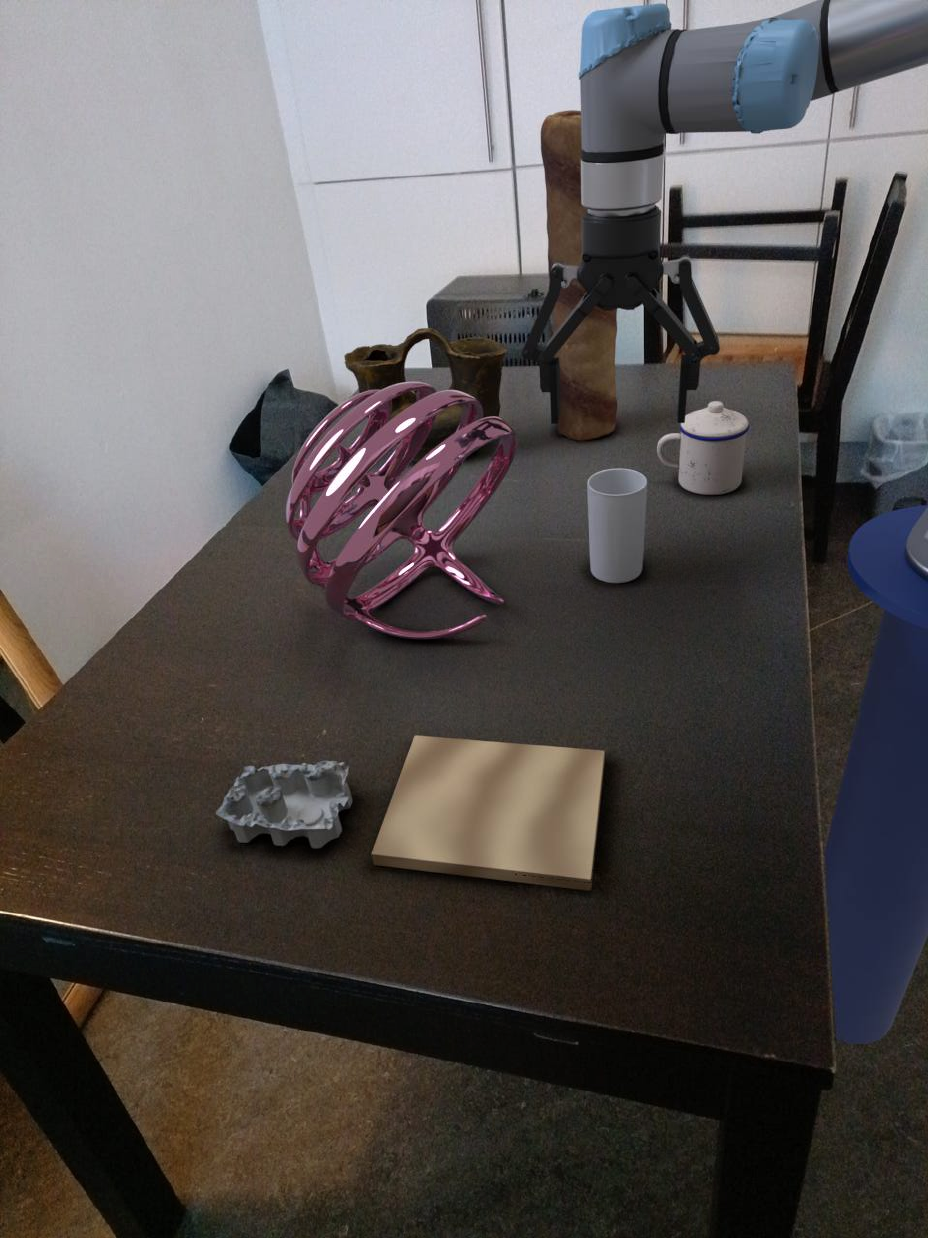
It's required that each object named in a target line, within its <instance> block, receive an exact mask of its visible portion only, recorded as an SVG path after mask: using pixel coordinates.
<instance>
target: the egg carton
mask: <svg viewBox="0 0 928 1238" xmlns="http://www.w3.org/2000/svg"><path fill="white" fill-rule="evenodd" d="M349 768H350V765H349V764H348V763H347V762H345V761H342V762H340V761H338V760H321V761H316V764H310V763H306V762H302V763H301V764H289V763H279V764H272V765H269V766H262V767H260V768H257V767H256V766H255V765H247V766H243V768H242V773H241V775H240V776H236V778H235V781H234V784H233V785H232V786H231V788H229V791H228V793H227V794H226V795H225V796H224V797H223V802H222V805H221V806H219V808H218V809H217V810H216V811H215V815H217V816H218V817H220V818H222V819H223V820H226V821H227V823H228V825H229V829H230V830H231V831H233V833H234V834H235V838H236V840H237V842H238V843H242V844H245V843H247V844H249V843H250V842H251V841H252V840H253V839H254V838H256V837H257V836H258V835H262V834H266V835H270V836H271V840H272V843H273V845H274V846H278V847H279V846H280V847H284V846H286V845H287V844H288V843H289V842H290V841H291V840H294V839H295V838H298V837H305V838H307V839H308V842H309V845H310V847H311V848H312V849H322V848H323V847H324V846H325V845H326V844H327V843H329V842H330V841H332V840H335V839H337V838H339V837H340V835H341V833H342V832H343V828H342V824H341V820H340V817H339V813H340V812H341V811H343V810H348V809H350V808H351V806H352V804H353V797H352V793H351V790H350V789H351V788H350V787H349V784H348V782H346V779H347V776H348V775H349Z"/></svg>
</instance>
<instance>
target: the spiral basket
mask: <svg viewBox="0 0 928 1238" xmlns="http://www.w3.org/2000/svg"><path fill="white" fill-rule="evenodd" d="M409 391H411V392H413V393H414V394H415V395H416V400H417V402H416V403H414V404H412V405H411V406H409V407H408V408H406V409H405V410H403V411H402V412H401V413H399V414H398V415H396V416H395V417H394V418H393V419H391V420H390V421H389V422H388V420H389V418H390V414H391V410H392V399H394V398H396V397H397V396H399V395H402V394H404V393H406V392H409ZM458 404H462V415H461V419H460V422H459V425H458V428H457V430H456V432H455V433H454V434H452V435H451V436H450V437H448V438H447V439H445V440H444V441H443V442H441V443H440V444H439V445H438V446H436V447H435V448H434V449H433V450H431V451H430V452H429V453H428V454H427V455H425V456H424V457H423V458H422V459H421V460H420V461H419V462H415V464H413V466H412V467H410V469H409V470H408V471H406V470H407V468H408V467H409V466H410V465H411V463H412V462H413V459H414V457H415V456H416V454H417V453H418V451H419V450H420V448H421V447H422V445H423V444H424V442H425V440H426V438H427V436H428V435H429V433H430V431H431V428H432V426H433V424H434V421H435V419H436V415H437V414H438V413H440V412H442V411H444V410H446V409H448V408H450V407H452V406H455V405H458ZM350 409H351V410H350ZM349 410H350V411H349ZM348 411H349V412H348ZM346 412H348V413H346ZM345 413H346V414H345ZM344 414H345V415H344ZM342 415H344V416H343V417H342V418H341V419H340V420H339V421H338V422H336V424H335V425H334V426H333V427H331V429H330V430H328V428H330V426H331V425H332V424H334V423H335V421H337V419H339V418H340V417H341V416H342ZM369 415H370V416H369ZM368 416H369V419H368V418H367V417H368ZM366 419H367V422H366V423H365V426H364V428H363V429H362V431H361V432H360V434H359V435H358V437H357V438H356V439H355V441H354V442H353V444H351V446H349V447H346V446H345V445H343V444H342V441H344V440H345V439H346V437H347V436H349V434H350V433H352V431H353V430H355V429H356V428H357V427H358V426H359V425H360V424H361V423H362V422H363V421H365V420H366ZM327 430H328V432H327V433H326V434H325V436H323V438H322V439H321V440H320V442H319V443H318V444H317V445H316V446H315V447H314V445H315V444H316V443H317V442H318V440H319V439H320V437H322V435H323V434H324V433H325V432H326V431H327ZM496 439H499V442H498V444H497V447H496V449H495V451H494V453H493V456H492V457H491V459H490V461H489V463H488V465H487V467H486V468H485V470H484V471H483V473H482V474H481V476H480V477H479V479H478V480H477V482H476V484H475V485H474V486H473V488H472V489H471V490H470V491H469V493H468V494H467V495H466V496H465V498H464V499H463V500H462V502H461V504H460V505H458V507H457V508H456V509H455V511H454V512H453V513H452V514H451V515H450V517H449V518H448V519H447V520H446V521H445V522H444V523H443V524H442V526H440V527H439V528H437V529H435V530H434V529H433V530H432V529H429V528H428V527H426V526H425V524H424V522H423V518H424V516H425V513H426V512H427V511H428V509H429V508H430V507H431V506H432V505H433V504H434V503H435V502H436V500H437V499H438V498H439V497H440V495H441V494H442V493H443V492H444V491H445V489H446V488H447V486H448V485H449V484H450V483H451V481H452V480H453V478H454V477H455V476H456V474H457V473H458V471H459V470H460V468H461V467H462V465H463V464H464V463H465V461H466V459H467V457H468V456H470V455H469V454H471V453H472V454H473V453H474V452H475V451H477V450H478V449H480V448H481V447H482V446H483V447H484V446H485V445H486V444H489V443H490V442H492V441H494V440H496ZM401 440H402V441H401ZM400 441H401V442H400ZM399 442H400V444H398V443H399ZM313 447H314V449H313V450H312V448H313ZM395 447H396V448H395ZM518 447H519V438H518V434H517V433H516V431H515V429H514V428H513V426H512V425H511V424H510V423H509V422H507V421H506V420H505V419H504V418H502V417H500V416H499V417H496V416H491V417H485V418H483V410H482V406H481V404H480V403H479V401H478V400H477V399H476V398H474V397H473V396H471V395H469V394H467V393H465V392H462V391H459V390H448V389H445V390H440V391H437V389H435V387H434V386H433V385H431V384H429V383H426V382H422V381H406V382H402V383H398V384H394V385H391V386H389V387H386V388H384V389H382V390H369V391H365V392H362V393H357V394H355V395H353V396H351V397H350V398H348V399H346V400H345V401H343V402H341V403H340V404H338V405H337V406H336V407H335V408H334V409H332V410H331V411H330V412H329V413H328V414H327V415H326V416H325V417H324V418H323V419H322V420H321V421H320V422H319V423H318V424H317V425H316V426H315V428H314V429H312V431H311V432H310V434H309V435H308V437H307V438H306V439H305V441H304V442H303V444H302V446H301V448H300V450H299V451H298V453H297V456H296V457H295V461H294V464H293V468H292V470H291V487H290V489H289V493H288V496H287V500H286V505H285V522H286V528H287V530H288V533H289V535H290V536H291V537H292V539H294V540H295V541H297V544H296V549H295V557H296V558H295V559H296V563H297V566H298V568H299V570H300V572H301V574H302V576H303V577H304V578H305V580H306V581H307V582H309V583H310V584H313V585H315V586H318V587H320V588H321V589H323V590H324V592H323V593H324V601H325V603H326V604H327V606H328V608H330V610H331V611H332V612H333V613H335V614H336V615H338V616H339V617H341V618H344V619H347V620H352V621H355V622H358V623H359V624H362V625H364V626H366V627H368V628H370V629H373V630H375V631H376V632H380V633H381V634H385V635H388V636H391V637H394V638H395V637H396V638H400V639H407V640H416V641H419V640H420V641H427V640H438V639H444V638H445V639H446V638H449V637H454V636H456V635H457V636H458V635H460V634H463V633H465V632H468V631H470V630H472V629H475V628H476V627H478V626H479V625H481V624H483V623H484V622H485V621H486V620H487V618H488V617H487V615H486V614H481V615H478V616H476V617H474V618H472V619H470V620H468V621H465V622H464V623H461V624H458V625H455V626H453V627H452V626H451V627H448V628H444V629H443V628H442V629H440V630H439V629H438V630H412V629H405V628H401V627H398V626H394V625H390V624H389V623H386V622H384V621H381V620H379V619H377V618H375V617H374V616H373V615H372V614H371V613H372V612H374V611H375V610H377V609H378V608H380V607H382V606H383V605H385V604H386V603H387V602H389V601H390V600H392V599H393V598H394V597H396V596H397V595H398V594H400V593H401V592H402V591H404V590H405V589H406V588H407V587H408V586H409V585H411V584H412V583H413V582H415V581H416V579H418V578H419V577H421V575H422V574H423V573H425V572H426V571H427V570H429V569H432V568H436V569H439V570H440V571H442V572H444V573H445V574H446V575H447V576H449V577H450V578H451V579H452V580H454V581H455V582H456V583H458V585H460V586H461V587H463V588H465V589H466V590H467V591H469V592H471V593H472V594H474V595H475V596H477V597H479V598H481V599H482V600H484V601H486V602H489V603H492V604H495V605H499V606H500V605H504V604H505V599H504V598H503V597H502V596H500V595H499V594H498V593H496V592H495V591H494V589H492V588H491V587H489V585H487V584H486V582H484V580H482V579H481V578H480V577H478V576H477V575H476V574H475V573H474V572H473V571H472V570H471V569H470V568H469V567H468V566H466V565H465V564H464V563H463V562H462V561H461V560H460V559H459V558H458V557H457V555H455V553H454V550H453V547H454V544H455V542H457V540H458V538H459V537H460V536H461V535H462V534H463V533H464V531H465V530H467V528H468V527H469V525H470V524H472V523H473V521H474V520H475V519H476V518H477V516H478V515H479V514H480V512H481V511H482V510H483V509H484V507H485V506H486V505H487V504H488V502H489V501H490V499H491V498H492V497H493V495H494V494H495V493H496V490H497V489H498V488H499V486H500V485H501V483H502V482H503V480H504V478H505V477H506V475H507V473H508V472H509V470H510V468H511V466H512V464H513V462H514V460H515V457H516V455H517V451H518ZM394 448H395V449H394ZM335 449H336V450H337V451H338V452H337V453H338V458H337V459H336V460H335V461H334V462H333V463H331V464H330V465H329V466H327V467H325V468H324V469H321V470H320V471H319V469H320V468H321V466H323V464H324V463H325V461H326V460H327V459H328V458H329V457H330V455H331V454H332V453H333V452H334V451H335ZM392 449H394V451H393V452H392V454H391V455H390V456H389V458H388V459H387V460H386V462H384V464H383V465H382V467H380V468H379V469H378V470H377V471H375V472H372V471H371V470H373V469H374V468H375V466H376V465H377V464H378V463H379V462H380V461H381V460H382V459H383V458H384V457H386V455H387V454H388V453H390V451H392ZM311 450H312V451H311ZM310 452H311V453H310ZM472 454H471V455H472ZM405 471H406V473H405V474H403V473H404V472H405ZM402 474H403V476H402ZM400 477H401V478H400ZM396 481H397V482H396ZM356 487H358V488H357V491H356V492H355V493H354V494H353V495H351V493H352V492H353V491H354V489H355V488H356ZM319 493H321V494H320V495H319V497H318V499H317V500H316V502H315V503H314V505H313V507H312V499H313V496H315V495H317V494H319ZM350 495H351V497H349V496H350ZM348 497H349V498H348ZM298 507H299V517H298V518H297V517H296V513H297V510H298ZM311 507H312V508H311ZM370 508H372V509H371V510H370V512H368V514H367V515H366V517H364V519H363V520H362V521H361V523H359V525H358V526H357V528H356V529H355V531H354V532H353V534H351V536H350V538H349V539H348V541H347V542H346V544H345V545H344V547H343V548H342V550H341V551H340V553H339V555H338V556H337V558H334V559H332V560H328V561H327V560H324V558H323V557H322V555H321V552H320V549H319V545H318V543H319V541H321V540H323V539H325V538H327V537H330V536H331V535H333V534H335V533H337V532H338V531H340V530H342V529H344V528H345V527H347V526H348V525H349V524H351V523H353V522H354V521H355V520H356V519H358V518H359V517H360V516H361V515H362V514H364V513H365V512H366V511H368V510H369V509H370ZM402 539H403V540H407V541H408V542H410V543H411V544H412V546H413V548H414V551H413V554H411V556H410V557H409V558H408V559H407V560H406V561H405V562H403V564H402V565H400V566H399V567H398V568H397V569H395V570H394V571H393V572H392V573H391V574H390V575H388V576H387V577H385V578H384V579H382V580H381V581H380V582H379V583H377V584H376V585H375V586H373V587H372V588H370V589H368V590H367V591H365V592H363V593H362V594H359V595H358V596H356V597H351V596H349V595H348V594H349V592H350V590H351V587H352V585H353V583H354V581H355V580H356V578H357V576H358V575H359V573H360V571H361V570H362V568H364V567H365V566H367V565H368V564H370V563H371V562H372V561H374V560H375V559H376V558H378V557H379V556H380V555H381V554H383V553H384V552H385V551H386V550H387V549H389V548H390V547H391V546H392V545H393V544H394V543H396V542H397V541H399V540H402Z"/></svg>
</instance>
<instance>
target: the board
mask: <svg viewBox="0 0 928 1238" xmlns="http://www.w3.org/2000/svg"><path fill="white" fill-rule="evenodd" d="M605 764H606V751H605V750H601V749H588V748H578V747H566V746H565V747H564V746H554V745H553V746H552V745H539V744H529V743H528V744H527V743H517V742H515V743H514V742H502V741H491V740H480V739H479V740H478V739H477V740H476V739H467V738H452V737H440V736H429V735H417V734H416V735H414V737H413V738H412V741H411V745H410V748H409V750H408V753H407V756H406V757H405V761H404V764H403V767H402V769H401V772H400V775H399V777H398V780H397V783H396V785H395V788H394V791H393V793H392V797H391V800H390V802H389V804H388V807H387V809H386V813H385V815H384V817H383V821H382V823H381V826H380V830H379V832H378V835H377V837H376V840H375V843H374V845H373V849H372V851H371V853H370V854H371V857H372V861H373V865H374V866H381V867H388V868H395V869H403V870H413V871H421V872H430V873H438V874H446V875H456V876H462V877H471V878H479V879H488V880H497V881H505V882H511V883H512V882H514V883H521V884H529V885H538V886H546V887H554V888H555V887H556V888H563V889H571V890H572V889H573V890H580V891H587V892H591V891H592V887H593V880H594V879H593V878H594V868H595V860H596V849H597V840H598V832H599V821H600V812H601V802H602V793H603V784H604V776H605V775H604V774H605V773H604V772H605V766H606V765H605ZM592 870H593V871H592ZM515 874H517V875H515ZM523 875H526V876H523ZM529 875H530V876H529ZM532 876H535V877H532ZM539 876H540V877H544V878H540V877H539ZM549 878H554V879H549ZM557 879H565V880H557ZM591 879H592V880H591ZM566 880H570V881H566ZM573 880H575V881H581V882H574V881H573ZM583 882H591V883H583Z"/></svg>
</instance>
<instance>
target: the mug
mask: <svg viewBox="0 0 928 1238" xmlns="http://www.w3.org/2000/svg"><path fill="white" fill-rule="evenodd" d="M586 484H587V486H586V487H587V489H586V492H587V494H586V495H587V516H588V517H587V520H588V538H589V539H588V547H589V565H590V566H589V567H590V573H591V574H592V576H593V577H595V579H597V580H599V581H602V582H604V583H608V584H623V583H627V582H628V583H629V582H631V581H633V580H636V579H637V578H638V577H639V576H640V575H641V574H642V571H643V563H644V548H645V547H644V546H645V530H646V512H647V495H648V479H647V477H646V476H645V475H644V474H643V473H641V472H639V471H637V470H634V469H629V468H622V467H621V468H620V467H619V468H617V467H616V468H609V469H603V470H601V471H597V472H595V473H594V474H592V475H591V476H589V478H588V479H587V483H586Z"/></svg>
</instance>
